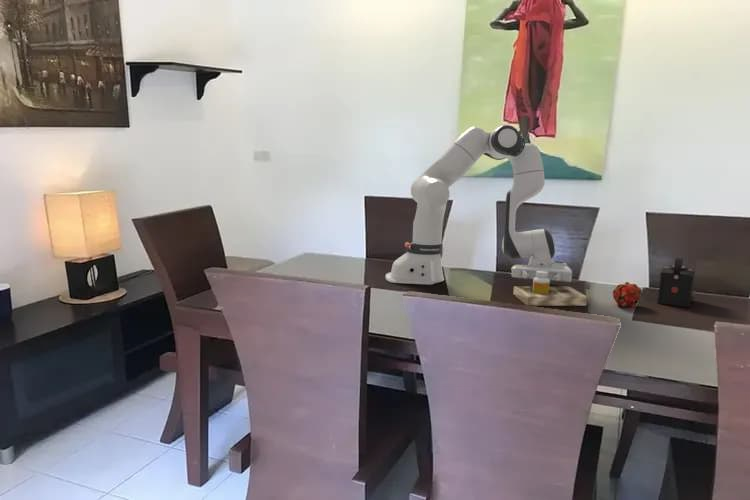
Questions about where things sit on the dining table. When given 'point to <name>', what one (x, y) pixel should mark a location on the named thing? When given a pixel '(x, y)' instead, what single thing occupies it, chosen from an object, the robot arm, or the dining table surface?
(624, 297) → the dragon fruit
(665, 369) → the dining table surface
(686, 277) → the camera
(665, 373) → the dining table surface
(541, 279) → the supplement bottle
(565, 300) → the holder block
